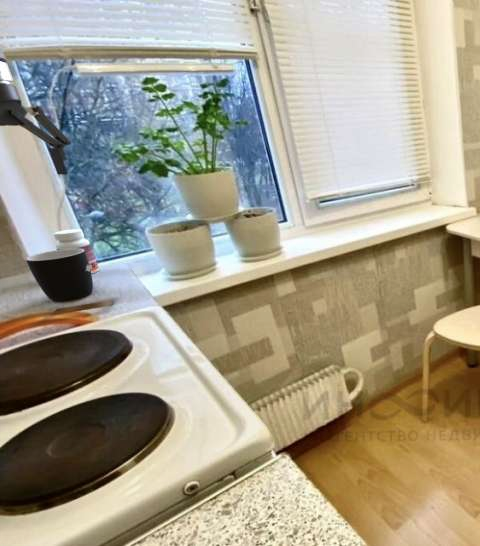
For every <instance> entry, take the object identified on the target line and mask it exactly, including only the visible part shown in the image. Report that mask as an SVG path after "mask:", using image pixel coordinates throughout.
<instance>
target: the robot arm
mask: <svg viewBox="0 0 480 546" xmlns="http://www.w3.org/2000/svg"><path fill="white" fill-rule="evenodd" d="M13 82H14V78H13V75H12V72H11V70H10V67H9V65H8V63H7V60H6V57H5V55H4V52H3V49H2V45H0V127H5V126H6V127H7V126H8V127H18V126H19V127H21V128H24V129H25V130H27V131H28V132H29V133H31V134H33V135H34V136H36V137H37V138H38V139H40V140H41V141H42V142H45V143H46V144H48V145H49V146H50V147H49V148H48V151H49V154H50V157H51V160H52V163H53V165H54V168H55V171H56V174H57V175H61V176H63V175H64V176H66V175H69V173H68V170H67V168H66V164H65V161H67V155H66V154H65V149H64V148H65V147H66V146H69V145H71V144H72V141H71V140H70V139H69V138H68V137H67V136H66V135H65V134H64V133H63V132H62V131H61V130H60V129H59V128H58V127H57V126H56V125H55V124H54V123H53V122H52V121H51V119H49V118H48V116H46V114H45V112H44V109H43V108H42V106H40V105H31V106H28V107H26V106H24V105H23V103H22V99H21V96H20V94H19V91H18V88H17V86H16V85H14V84H12V83H13ZM28 114H29V115H30V116H31V117H33V118H34V119H35V120H36V121H37V122H38V123H39V124H40V125H41V126H42V127H43V128H44V129H45V130H46V131H47V132H48V133H47V132H46V131H44V130H43V129H42V128H40V127H39V126H37V125H36V124H35V123H34V122H33V121H31V120H30V119H28V118H27V115H28Z"/></svg>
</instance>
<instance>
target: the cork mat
mask: <svg viewBox="0 0 480 546" xmlns="http://www.w3.org/2000/svg"><path fill="white" fill-rule="evenodd" d="M114 303H115V300H114V299H110V300H109V299H108V300H102V301H97V302H91V303H85V304H79V305H72V306H66V307H59V308H56V309H55V310H54V311H53V312H52V313H51V314H49V317H52V316H57V315H64V314H69V313H75V312H76V313H77V312H82V311H88V310H93V309H100V308H106V307H112V306H113V305H114Z"/></svg>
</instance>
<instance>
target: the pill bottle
mask: <svg viewBox="0 0 480 546" xmlns="http://www.w3.org/2000/svg"><path fill="white" fill-rule="evenodd" d="M53 237H54V240H55V241H58V242H57V243H56V244H55V248H56V249H55V250H63V249H83V250H84V251H85V253H86V256H87V259H88V262H89V266H90V270H91V275H93V274H95V273H98V272H99V270H100V266H99V264H98V262H97V259H96V256H95V253H94V251H93V248H92V245H91V242H90V241H89V240H88V239H87V238H84V237H85V234H84V231H83V230H82V229H80V228H73V229H65V230H59V231H55V232H53Z"/></svg>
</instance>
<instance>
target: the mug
mask: <svg viewBox="0 0 480 546" xmlns="http://www.w3.org/2000/svg"><path fill="white" fill-rule="evenodd" d="M25 262H26V264H27V266H28V268H29V271H30V272H31V274H32V276H33V277H34V279H35V281H36V283H37V285H38V286H39V288H40V290H41V291H42V292H43V293H44V295H45V296H46V297H47V298H48V299H49V300H51V301H52V302H54V303H66V302H67V303H68V302H73V301H77V300H81V299H83V298H86V297H89V296H90V295H92V293H93V290H94V282H93V276H92V275H93V274H91V270H90V266H89V262H88V259H87V256H86V253H85V251H84V250H83V249H63V250H57V249H55V250H49V251H45V252H40V253H35V254H32V255H29V256H27V257H26V259H25Z"/></svg>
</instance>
